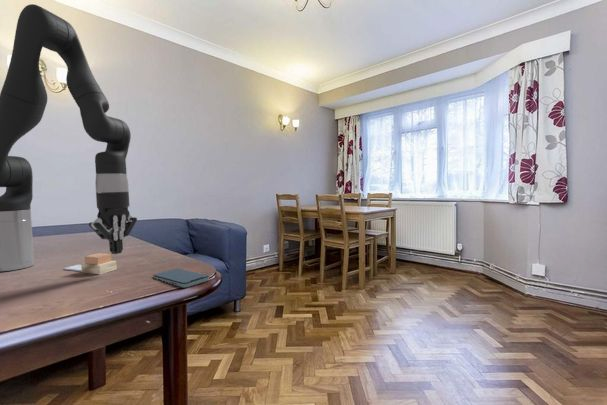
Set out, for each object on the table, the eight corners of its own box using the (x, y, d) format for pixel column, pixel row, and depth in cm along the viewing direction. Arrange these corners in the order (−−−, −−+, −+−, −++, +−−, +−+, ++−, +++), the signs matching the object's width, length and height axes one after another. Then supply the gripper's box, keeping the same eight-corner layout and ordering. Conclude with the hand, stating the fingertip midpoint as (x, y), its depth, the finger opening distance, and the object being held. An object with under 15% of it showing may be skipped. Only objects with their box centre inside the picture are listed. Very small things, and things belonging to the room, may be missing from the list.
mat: (63, 269, 85) (63, 268, 85) (78, 265, 89) (78, 264, 89) (83, 271, 83) (83, 270, 83) (97, 267, 87) (97, 266, 87)
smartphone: (177, 267, 83) (210, 275, 75) (178, 273, 83) (211, 281, 75) (151, 274, 77) (183, 283, 68) (151, 280, 77) (184, 290, 69)
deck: (81, 272, 82) (81, 263, 82) (99, 267, 87) (98, 259, 87) (100, 274, 80) (99, 265, 80) (116, 269, 85) (116, 260, 85)
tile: (85, 263, 82) (84, 256, 82) (98, 259, 86) (98, 253, 86) (98, 264, 81) (97, 257, 81) (111, 261, 85) (111, 254, 85)
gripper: (123, 190, 88) (127, 247, 89) (77, 191, 75) (82, 258, 76) (143, 190, 85) (146, 248, 86) (99, 191, 73) (103, 260, 74)
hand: (116, 253), depth 81 cm, fingers closed
